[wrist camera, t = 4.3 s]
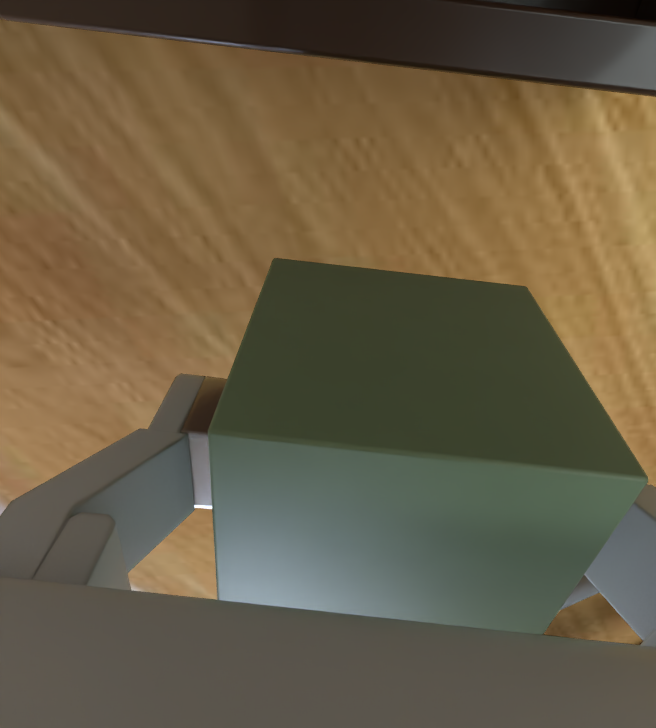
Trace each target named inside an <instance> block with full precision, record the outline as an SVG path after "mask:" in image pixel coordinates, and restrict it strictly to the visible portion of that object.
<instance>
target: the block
mask: <svg viewBox="0 0 656 728" xmlns="http://www.w3.org/2000/svg"><path fill="white" fill-rule="evenodd" d="M208 445H209V462H210V479H211V496H212V512H213V529H214V546H215V563H216V580H217V597H218V600H224V601H233V602H243V603H252V604H261V605H271V606H280V607H289V608H298V609H308V610H317V611H326V612H335V613H345V614H354V615H363V616H372V617H381V618H391V619H400V620H409V621H418V622H427V623H437V624H446V625H455V626H464V627H473V628H483V629H492V630H501V631H511V632H520V633H529V634H539V635H543V634H544V632H545V631H546V629H547V628H548V626H549V625H550V624H551V622H552V621H553V619H554V618H555V616H556V615H557V613H558V612H559V610H560V609H561V608H562V606H563V605H564V603H565V602H566V600H567V599H568V597H569V596H570V594H571V593H572V592H573V590H574V589H575V587H576V586H577V584H578V583H579V581H580V580H581V578H582V577H583V576H584V574H585V573H586V571H587V570H588V568H589V567H590V565H591V564H592V562H593V561H594V560H595V558H596V557H597V555H598V554H599V552H600V551H601V549H602V548H603V547H604V545H605V544H606V542H607V541H608V539H609V538H610V536H611V535H612V533H613V532H614V531H615V529H616V528H617V526H618V525H619V523H620V522H621V520H622V519H623V517H624V516H625V515H626V513H627V512H628V510H629V509H630V507H631V506H632V504H633V503H634V501H635V500H636V499H637V497H638V496H639V494H640V493H641V491H642V490H643V488H644V487H645V485H646V484H647V483H648V476H647V475H646V473H645V472H644V470H643V469H642V467H641V465H640V464H639V462H638V461H637V459H636V458H635V456H634V454H633V453H632V451H631V450H630V448H629V447H628V445H627V443H626V442H625V440H624V439H623V437H622V436H621V434H620V432H619V431H618V429H617V428H616V426H615V425H614V423H613V421H612V420H611V418H610V417H609V415H608V414H607V412H606V410H605V409H604V407H603V406H602V404H601V403H600V401H599V400H598V398H597V396H596V395H595V393H594V392H593V390H592V389H591V387H590V385H589V384H588V382H587V381H586V379H585V378H584V376H583V374H582V373H581V371H580V370H579V368H578V367H577V365H576V363H575V362H574V360H573V359H572V357H571V356H570V354H569V352H568V351H567V349H566V348H565V346H564V345H563V343H562V341H561V340H560V338H559V337H558V335H557V334H556V332H555V330H554V329H553V327H552V326H551V324H550V323H549V321H548V319H547V318H546V316H545V315H544V313H543V312H542V310H541V308H540V307H539V305H538V304H537V302H536V301H535V299H534V297H533V296H532V294H531V293H530V291H529V290H528V288H527V287H525V286H518V285H509V284H500V283H491V282H482V281H474V280H465V279H456V278H447V277H438V276H430V275H421V274H412V273H403V272H394V271H385V270H377V269H368V268H359V267H350V266H341V265H332V264H324V263H315V262H306V261H297V260H288V259H280V258H274V259H273V261H272V263H271V266H270V269H269V271H268V274H267V276H266V279H265V282H264V284H263V287H262V290H261V292H260V295H259V298H258V300H257V303H256V305H255V308H254V311H253V313H252V316H251V319H250V321H249V324H248V326H247V329H246V332H245V334H244V337H243V340H242V342H241V345H240V347H239V350H238V353H237V355H236V358H235V361H234V363H233V366H232V368H231V371H230V374H229V376H228V379H227V382H226V384H225V387H224V389H223V392H222V395H221V397H220V400H219V403H218V405H217V408H216V410H215V413H214V416H213V418H212V421H211V424H210V426H209V429H208Z"/></svg>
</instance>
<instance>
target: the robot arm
mask: <svg viewBox="0 0 656 728" xmlns="http://www.w3.org/2000/svg"><path fill="white" fill-rule="evenodd" d="M226 382H227V379H224V378H216V377H209V376H207V377H205V376H199V375H191V374H182V373H181V374H179V375H178V376H177V377H175V379H174V381H173V383H172V385H171V387H170V389H169V390H168V392H167V394H166V396H165V398H164V400H163V402H162V403H161V405H160V407H159V409H158V411H157V413H156V415H155V416H154V418H153V420H152V422H151V424H150V426H149V428H148V429H138V430H136V431H134V432H133V433H131V434H129V435H127V436H126V437H124V438H122V439H120V440H119V441H117V442H115V443H113V444H111V445H110V446H108V447H106V448H104V449H103V450H101V451H99V452H97V453H96V454H94V455H92V456H90V457H89V458H87V459H85V460H83V461H82V462H80V463H78V464H76V465H74V466H73V467H71V468H69V469H67V470H66V471H64V472H62V473H60V474H59V475H57V476H55V477H53V478H52V479H50V480H48V481H46V482H45V483H43V484H41V485H39V486H38V487H36V488H34V489H32V490H30V491H29V492H27V493H25V494H23V495H22V496H20V497H18V498H16V499H15V500H13V501H11V502H10V504H9V505H8V506H7V508H6V509H5V510H4V512H3V513H2V514H1V516H0V728H656V487H654V486H653V485H647V484H646V485H645V487H644V488H643V490H642V491H641V493H640V494H639V496H638V497H637V499H636V500H635V501H634V503H633V504H632V506H631V507H630V509H629V510H628V512H627V513H626V515H625V516H624V517H623V519H622V520H621V522H620V523H619V525H618V526H617V528H616V529H615V531H614V532H613V533H612V535H611V536H610V538H609V539H608V541H607V542H606V544H605V545H604V547H603V548H602V549H601V551H600V552H599V554H598V555H597V557H596V558H595V560H594V561H593V562H592V564H591V565H590V567H589V568H588V570H587V571H586V573H585V574H584V575H585V576H586V577H587V578H588V579H589V581H590V582H591V583H592V584H593V585H594V586H595V587H596V588H597V590H598V591H599V592H600V593H601V594H602V595H603V596H604V597H605V599H606V600H607V601H608V602H609V603H610V604H611V605H612V606H613V608H614V609H615V610H616V611H617V612H618V613H619V614H620V615H621V617H622V618H623V619H624V620H625V621H626V622H627V623H628V625H629V626H630V627H631V628H632V629H633V630H634V631H635V632H636V634H637V635H638V636H639V637H640V638H641V639H642V640H643V642H642V643H641V644H640V645H633V644H624V643H614V642H605V641H595V640H586V639H577V638H567V637H558V636H548V635H539V634H529V633H520V632H511V631H501V630H492V629H483V628H473V627H464V626H455V625H446V624H437V623H427V622H418V621H409V620H400V619H391V618H381V617H372V616H363V615H354V614H345V613H335V612H326V611H317V610H308V609H298V608H289V607H280V606H271V605H261V604H252V603H243V602H233V601H224V600H215V599H206V598H196V597H187V596H178V595H168V594H159V593H150V592H141V591H131V587H130V583H129V578H128V574H127V573H128V572H129V571H130V570H132V569H133V568H134V567H135V566H136V565H137V564H138V563H139V562H140V561H141V560H142V559H143V558H144V557H145V556H146V555H147V554H149V553H150V552H151V551H152V550H153V549H154V548H155V547H156V546H157V545H158V544H159V543H160V542H161V541H162V540H163V539H164V538H165V537H167V536H168V535H169V534H170V533H171V532H172V531H173V530H174V529H175V528H176V527H177V526H178V525H179V524H180V523H181V522H182V521H184V520H185V519H186V518H187V517H188V516H189V515H190V514H191V513H192V512H193V511H194V510H195V509H194V507H196V508H209V509H212V496H211V479H210V462H209V445H208V429H209V426H210V424H211V421H212V418H213V416H214V413H215V410H216V408H217V405H218V403H219V400H220V397H221V395H222V392H223V389H224V387H225V384H226Z"/></svg>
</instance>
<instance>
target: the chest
mask: <svg viewBox="0 0 656 728" xmlns="http://www.w3.org/2000/svg"><path fill="white" fill-rule="evenodd" d="M0 20H7V21H14V22H23V23H31V24H40V25H48V26H57V27H65V28H74V29H82V30H91V31H99V32H108V33H116V34H125V35H133V36H142V37H151V38H159V39H168V40H176V41H185V42H193V43H202V44H210V45H219V46H227V47H236V48H244V49H253V50H261V51H270V52H278V53H287V54H295V55H304V56H312V57H321V58H329V59H338V60H347V61H355V62H364V63H372V64H381V65H389V66H398V67H406V68H415V69H423V70H432V71H440V72H449V73H457V74H466V75H474V76H483V77H491V78H500V79H508V80H517V81H525V82H534V83H543V84H551V85H560V86H568V87H577V88H585V89H594V90H602V91H611V92H619V93H628V94H636V95H645V96H653V97H656V0H0Z"/></svg>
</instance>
